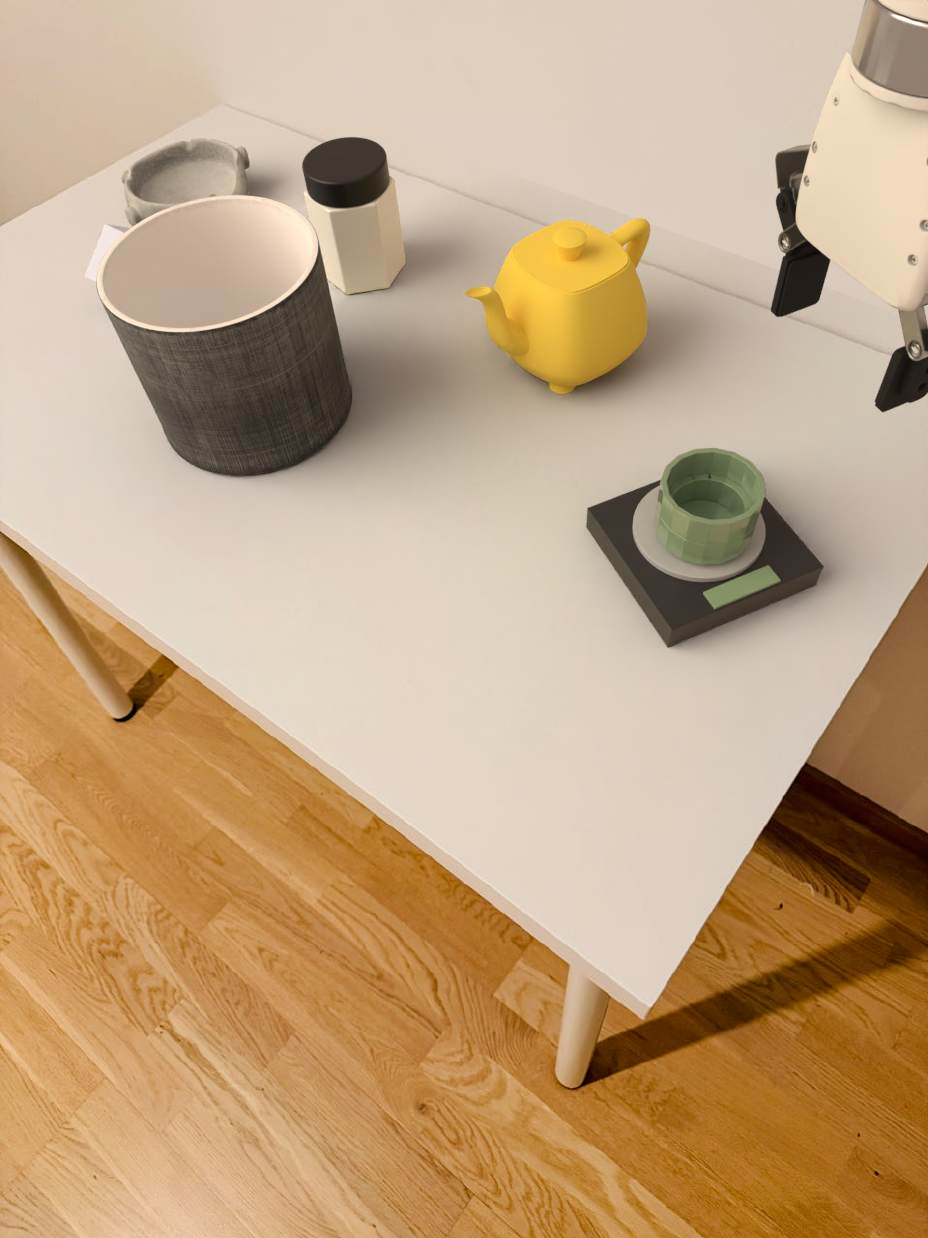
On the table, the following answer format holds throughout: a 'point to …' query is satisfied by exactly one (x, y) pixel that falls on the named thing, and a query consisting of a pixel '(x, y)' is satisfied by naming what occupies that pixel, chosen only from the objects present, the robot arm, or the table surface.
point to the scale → (698, 567)
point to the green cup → (708, 505)
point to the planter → (230, 331)
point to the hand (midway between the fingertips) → (844, 352)
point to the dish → (183, 176)
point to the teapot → (569, 301)
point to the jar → (354, 213)
